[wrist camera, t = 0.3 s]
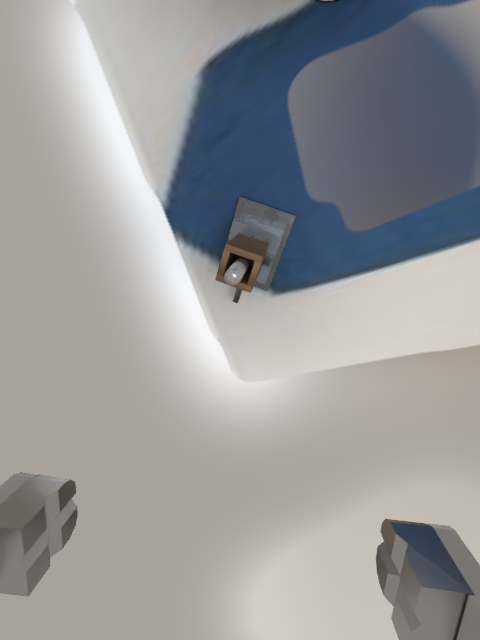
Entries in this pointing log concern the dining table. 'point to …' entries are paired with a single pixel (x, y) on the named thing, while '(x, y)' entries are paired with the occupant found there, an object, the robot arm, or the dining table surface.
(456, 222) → the dining table surface
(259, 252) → the walnut sleeve
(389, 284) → the dining table surface
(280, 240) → the vise
